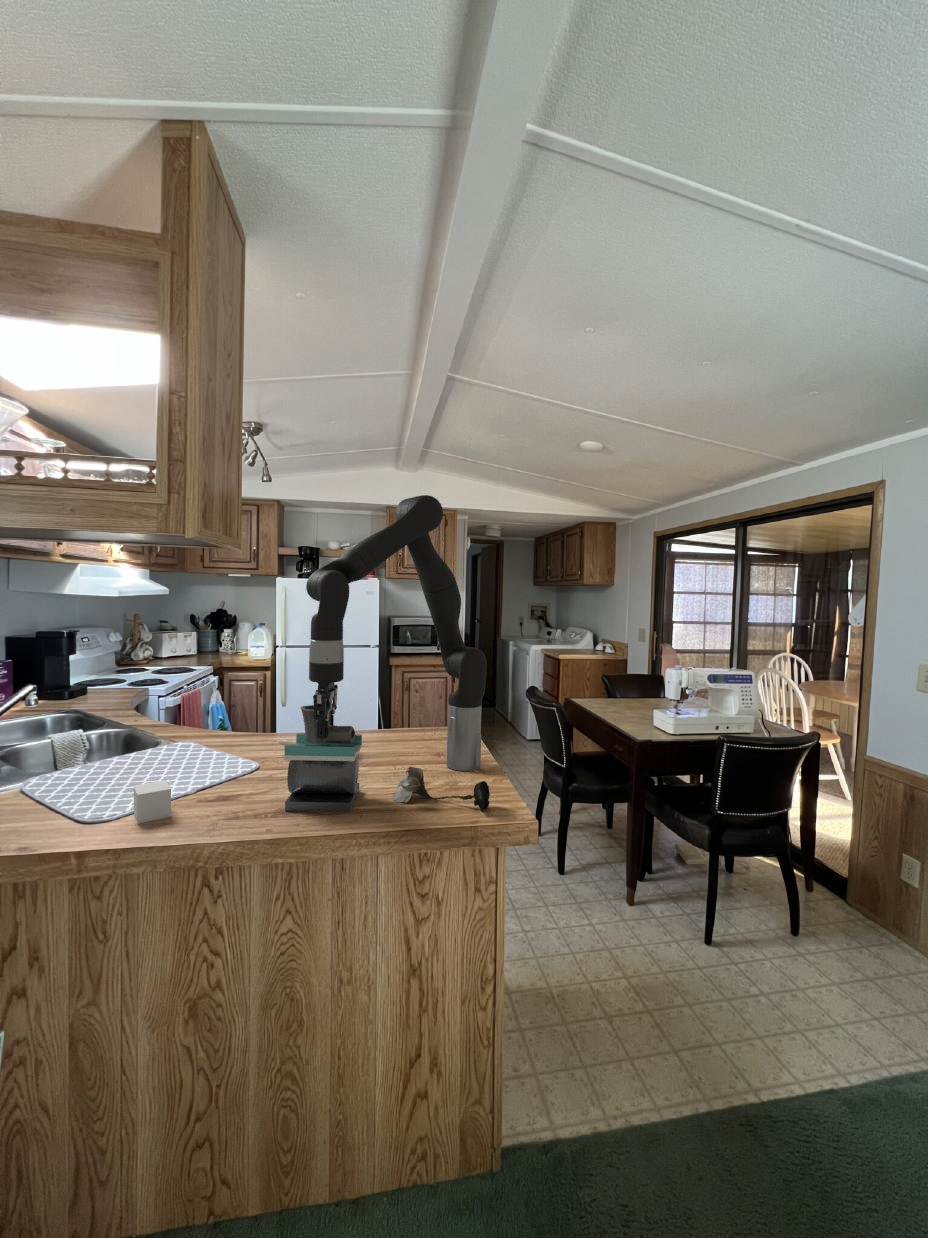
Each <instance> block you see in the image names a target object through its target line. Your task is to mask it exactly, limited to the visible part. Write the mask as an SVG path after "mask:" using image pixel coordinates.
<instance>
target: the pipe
mask: <svg viewBox="0 0 928 1238" xmlns="http://www.w3.org/2000/svg"><path fill="white" fill-rule="evenodd" d="M300 711H301V713H302V716H303V717H302V719H303V725H304V733H305V740H306V741H307V742H309V743H316V744H318V743H326V742H328V743H352V742H353V741H354V740H355V734H356V732H355V728H354V727H353V726H351V725H336V726H331V725H330V720H331V712H332V710H331V711H329V720H328V737H327V738H318V737H317V721H316V720H314V704H312V705H310V704H309V705H303V706H301V707H300ZM320 715H323V711H320Z"/></svg>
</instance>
